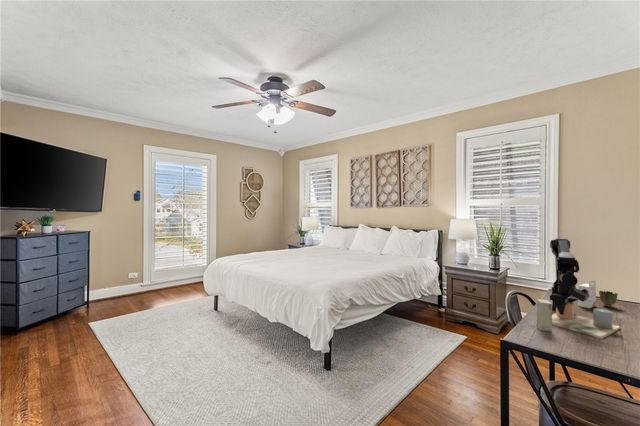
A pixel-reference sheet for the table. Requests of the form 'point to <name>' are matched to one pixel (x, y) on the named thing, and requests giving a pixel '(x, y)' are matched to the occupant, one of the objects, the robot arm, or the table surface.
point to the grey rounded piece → (603, 318)
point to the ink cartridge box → (592, 295)
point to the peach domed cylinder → (567, 311)
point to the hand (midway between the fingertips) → (564, 313)
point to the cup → (608, 298)
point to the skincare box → (544, 315)
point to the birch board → (583, 326)
